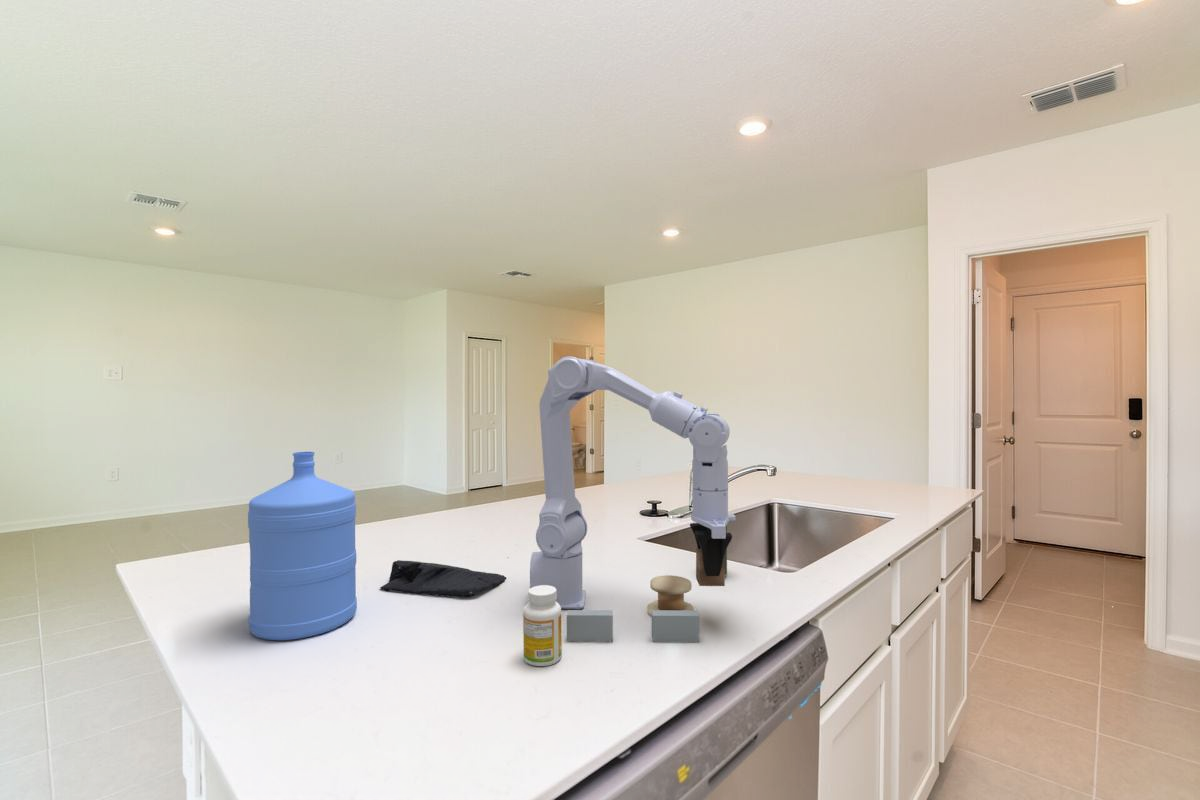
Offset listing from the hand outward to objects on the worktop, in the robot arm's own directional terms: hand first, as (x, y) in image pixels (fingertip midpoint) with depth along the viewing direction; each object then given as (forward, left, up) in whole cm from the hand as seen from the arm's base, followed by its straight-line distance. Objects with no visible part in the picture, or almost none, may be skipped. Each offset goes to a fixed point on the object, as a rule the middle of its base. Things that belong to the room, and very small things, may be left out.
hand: (710, 571), depth 88 cm
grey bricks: (-13, -6, -8) cm, 17 cm away
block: (0, 0, -2) cm, 2 cm away
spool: (-6, +4, -8) cm, 11 cm away
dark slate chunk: (-49, +18, -9) cm, 53 cm away
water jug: (-67, 0, -9) cm, 68 cm away
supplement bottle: (-26, -12, -9) cm, 30 cm away
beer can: (+5, +23, -9) cm, 25 cm away
